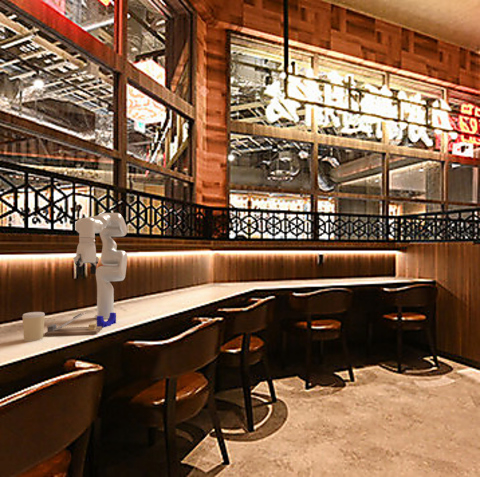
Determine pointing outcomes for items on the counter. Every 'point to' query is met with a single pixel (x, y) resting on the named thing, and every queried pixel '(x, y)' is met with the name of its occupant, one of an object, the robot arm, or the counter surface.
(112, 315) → the cable clip
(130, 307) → the counter surface
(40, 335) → the coffee cup
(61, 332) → the board
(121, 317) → the counter surface
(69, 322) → the strap
